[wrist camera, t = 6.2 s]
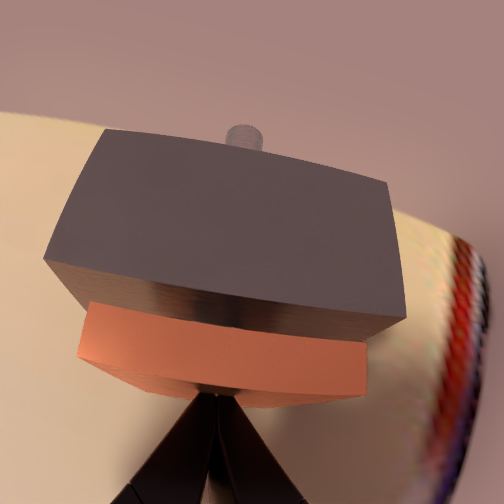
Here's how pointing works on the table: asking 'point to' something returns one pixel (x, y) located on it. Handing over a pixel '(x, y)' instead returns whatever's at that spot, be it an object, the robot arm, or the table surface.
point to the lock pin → (221, 351)
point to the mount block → (230, 239)
